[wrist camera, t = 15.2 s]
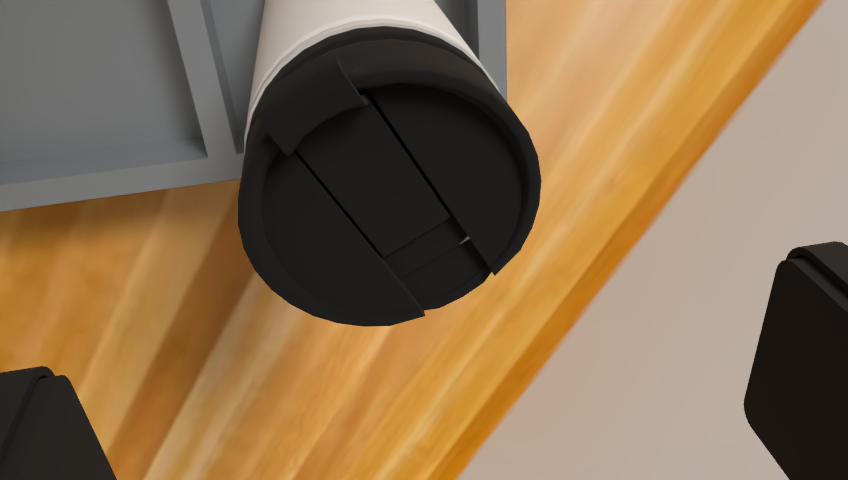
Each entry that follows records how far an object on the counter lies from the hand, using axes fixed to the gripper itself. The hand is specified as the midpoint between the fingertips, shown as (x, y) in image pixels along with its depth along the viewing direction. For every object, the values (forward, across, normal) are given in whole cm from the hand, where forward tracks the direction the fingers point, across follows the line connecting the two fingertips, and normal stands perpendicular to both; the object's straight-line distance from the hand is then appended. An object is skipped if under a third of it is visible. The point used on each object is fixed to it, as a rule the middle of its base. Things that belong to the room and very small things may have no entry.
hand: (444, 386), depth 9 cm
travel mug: (+25, 0, 0) cm, 25 cm away
